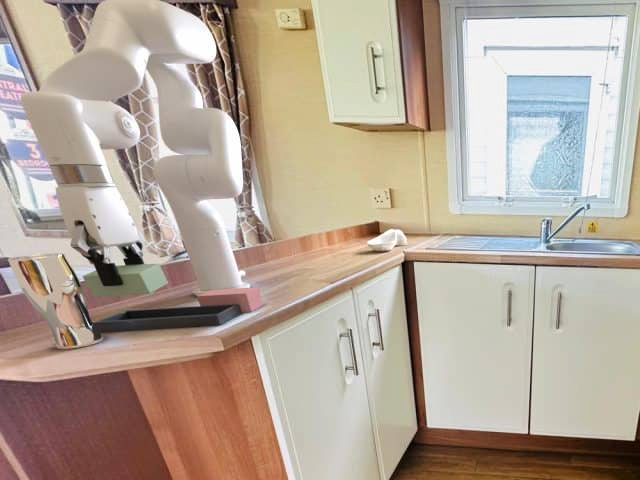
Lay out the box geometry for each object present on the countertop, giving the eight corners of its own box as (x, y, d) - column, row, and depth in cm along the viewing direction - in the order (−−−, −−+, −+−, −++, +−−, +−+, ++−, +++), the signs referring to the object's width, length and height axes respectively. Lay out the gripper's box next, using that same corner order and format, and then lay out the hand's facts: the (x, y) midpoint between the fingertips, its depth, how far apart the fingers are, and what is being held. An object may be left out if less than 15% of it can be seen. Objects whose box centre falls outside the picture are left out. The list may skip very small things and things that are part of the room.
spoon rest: (389, 252, 167) (386, 233, 164) (362, 252, 170) (359, 234, 166) (414, 244, 188) (412, 227, 185) (390, 245, 190) (387, 228, 187)
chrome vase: (102, 334, 79) (63, 251, 73) (110, 341, 75) (69, 254, 68) (51, 345, 74) (3, 257, 68) (56, 353, 70) (6, 261, 64)
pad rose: (218, 307, 95) (212, 289, 93) (263, 304, 96) (258, 287, 94) (203, 314, 90) (196, 296, 88) (251, 311, 90) (245, 293, 89)
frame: (130, 319, 88) (125, 310, 87) (242, 313, 90) (239, 303, 89) (96, 332, 80) (92, 322, 80) (220, 325, 82) (216, 315, 81)
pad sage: (116, 286, 84) (105, 266, 82) (168, 283, 85) (159, 263, 83) (94, 297, 79) (81, 276, 77) (150, 293, 80) (139, 273, 77)
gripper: (101, 180, 81) (139, 275, 88) (12, 177, 65) (68, 293, 73) (142, 178, 81) (176, 273, 89) (63, 175, 66) (113, 290, 73)
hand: (127, 281), depth 81 cm, fingers closed on pad sage, 6 cm apart
